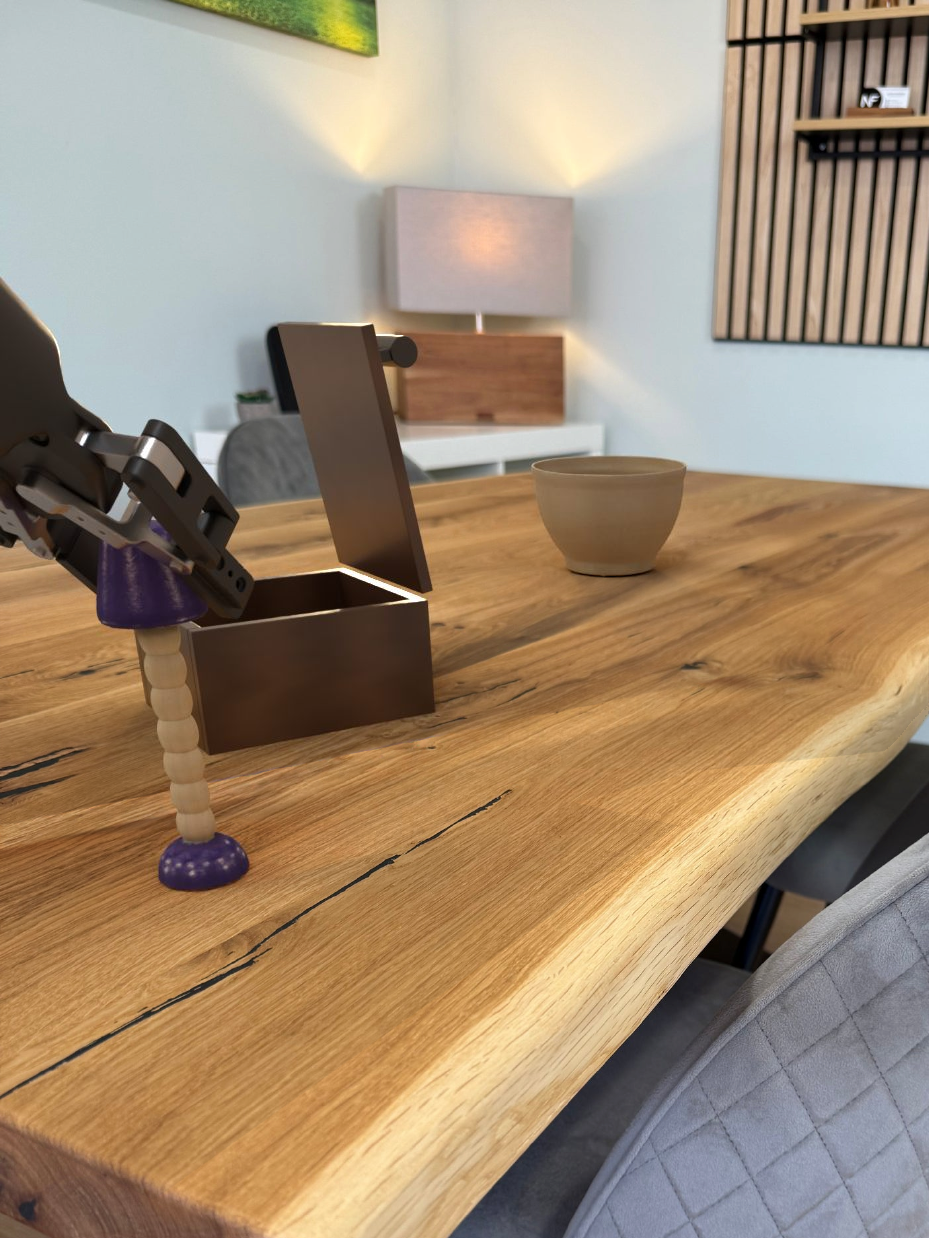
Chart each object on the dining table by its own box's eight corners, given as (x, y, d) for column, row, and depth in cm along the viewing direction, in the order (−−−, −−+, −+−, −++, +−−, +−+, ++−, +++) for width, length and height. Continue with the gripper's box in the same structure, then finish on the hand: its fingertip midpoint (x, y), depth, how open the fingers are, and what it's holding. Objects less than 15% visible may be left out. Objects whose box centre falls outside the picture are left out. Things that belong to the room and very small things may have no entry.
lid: (360, 326, 67) (439, 310, 69) (276, 323, 76) (348, 309, 78) (422, 594, 74) (491, 571, 77) (338, 562, 84) (402, 543, 86)
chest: (213, 780, 71) (191, 632, 67) (149, 726, 80) (127, 592, 76) (437, 735, 78) (428, 599, 75) (355, 690, 88) (344, 567, 84)
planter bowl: (519, 559, 135) (516, 457, 130) (656, 552, 139) (657, 453, 135) (555, 588, 121) (552, 475, 116) (705, 579, 125) (708, 470, 121)
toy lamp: (192, 903, 56) (132, 535, 49) (123, 881, 58) (56, 526, 51) (268, 865, 60) (222, 520, 53) (201, 846, 62) (149, 512, 55)
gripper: (83, 216, 39) (343, 538, 53) (-214, 225, 44) (98, 516, 59) (-24, 403, 36) (279, 685, 51) (-324, 388, 42) (30, 648, 56)
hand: (181, 594), depth 55 cm, fingers open, 6 cm apart
